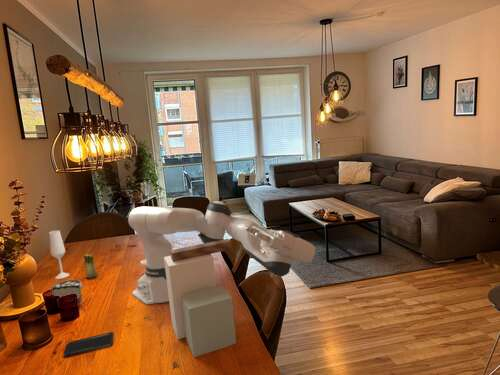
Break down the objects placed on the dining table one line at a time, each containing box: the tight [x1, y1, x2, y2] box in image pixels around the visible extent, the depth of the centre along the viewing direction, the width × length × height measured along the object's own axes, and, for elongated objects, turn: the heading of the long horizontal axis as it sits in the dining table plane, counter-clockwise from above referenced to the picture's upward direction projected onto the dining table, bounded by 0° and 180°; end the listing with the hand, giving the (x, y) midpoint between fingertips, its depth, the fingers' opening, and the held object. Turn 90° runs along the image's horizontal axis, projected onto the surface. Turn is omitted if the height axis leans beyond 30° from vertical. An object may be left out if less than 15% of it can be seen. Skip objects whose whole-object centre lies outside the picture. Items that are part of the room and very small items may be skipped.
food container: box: [50, 279, 83, 308], centre depth 148 cm, size 12×6×10 cm, turn 92°
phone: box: [63, 331, 115, 358], centre depth 118 cm, size 8×1×15 cm
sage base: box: [181, 285, 237, 358], centre depth 113 cm, size 14×10×16 cm
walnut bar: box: [170, 238, 233, 262], centre depth 122 cm, size 21×4×3 cm, turn 113°
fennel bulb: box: [83, 254, 98, 279], centre depth 176 cm, size 6×5×12 cm
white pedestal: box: [164, 254, 217, 340], centre depth 122 cm, size 15×10×26 cm, turn 113°
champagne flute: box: [48, 230, 70, 280], centre depth 179 cm, size 7×7×24 cm
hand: (250, 231), depth 128 cm, fingers open, 8 cm apart
